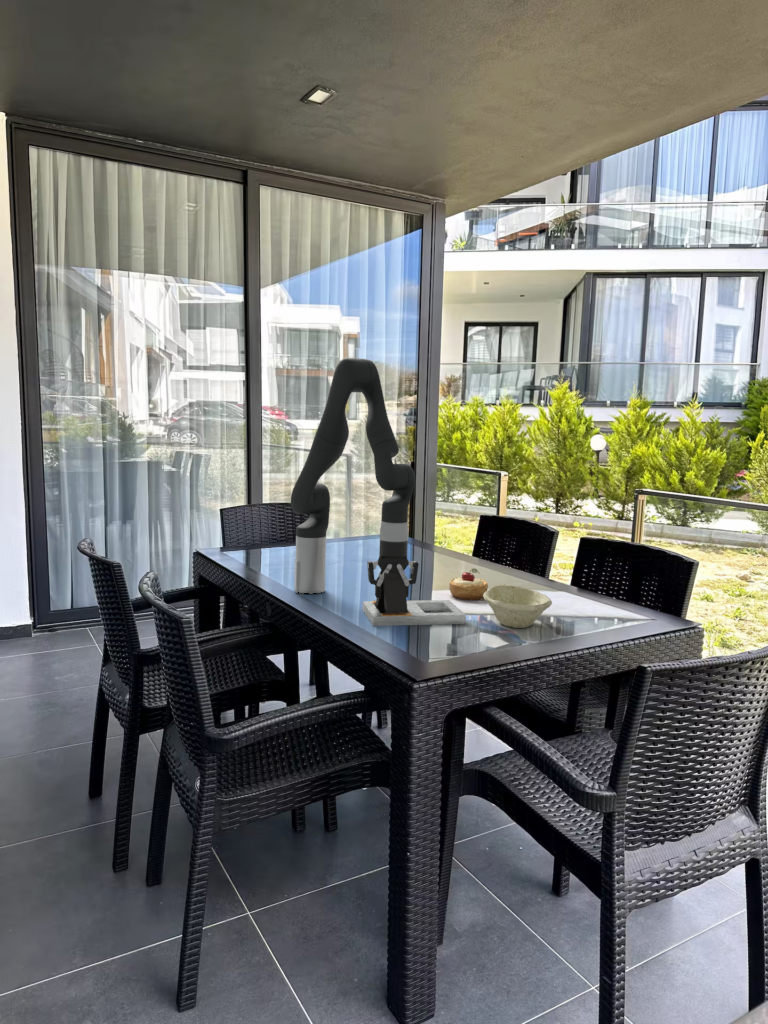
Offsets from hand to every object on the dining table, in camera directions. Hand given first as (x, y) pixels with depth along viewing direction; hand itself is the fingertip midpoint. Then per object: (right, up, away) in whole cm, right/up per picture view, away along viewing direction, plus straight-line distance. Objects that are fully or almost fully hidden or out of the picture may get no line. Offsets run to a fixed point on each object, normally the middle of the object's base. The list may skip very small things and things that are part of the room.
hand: (391, 598), depth 199 cm
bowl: (+33, -7, -3) cm, 34 cm away
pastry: (+24, -3, +28) cm, 36 cm away
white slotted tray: (+6, -5, +2) cm, 8 cm away
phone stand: (0, -4, +1) cm, 4 cm away
